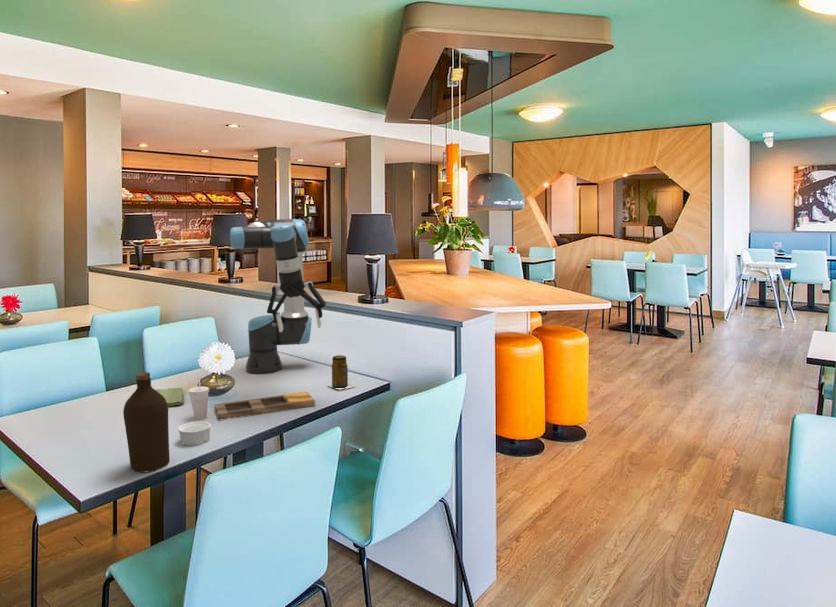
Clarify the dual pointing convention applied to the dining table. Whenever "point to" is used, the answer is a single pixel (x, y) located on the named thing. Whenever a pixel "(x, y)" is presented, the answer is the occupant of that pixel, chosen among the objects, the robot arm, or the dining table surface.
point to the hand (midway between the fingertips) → (300, 328)
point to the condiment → (339, 372)
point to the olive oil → (147, 427)
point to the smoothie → (199, 400)
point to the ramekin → (194, 432)
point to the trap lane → (264, 405)
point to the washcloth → (172, 396)
